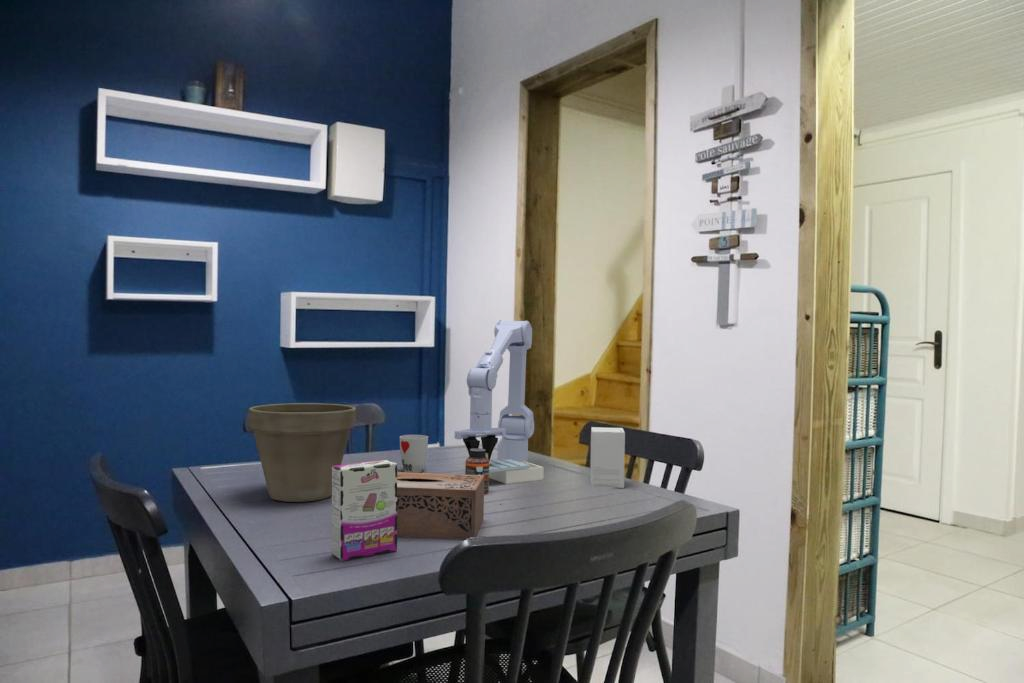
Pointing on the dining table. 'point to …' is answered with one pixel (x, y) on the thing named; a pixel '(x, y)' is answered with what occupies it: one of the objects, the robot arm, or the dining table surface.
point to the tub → (519, 474)
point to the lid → (505, 465)
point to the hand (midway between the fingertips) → (479, 464)
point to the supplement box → (607, 456)
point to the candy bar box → (364, 509)
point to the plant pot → (301, 447)
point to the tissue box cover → (439, 505)
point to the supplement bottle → (478, 465)
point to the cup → (413, 452)
